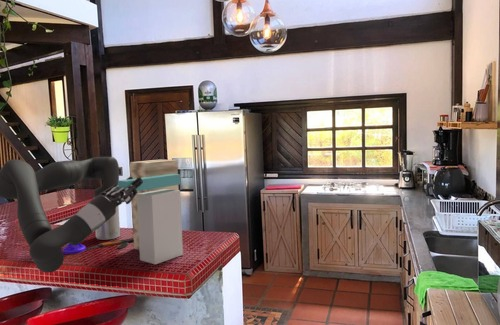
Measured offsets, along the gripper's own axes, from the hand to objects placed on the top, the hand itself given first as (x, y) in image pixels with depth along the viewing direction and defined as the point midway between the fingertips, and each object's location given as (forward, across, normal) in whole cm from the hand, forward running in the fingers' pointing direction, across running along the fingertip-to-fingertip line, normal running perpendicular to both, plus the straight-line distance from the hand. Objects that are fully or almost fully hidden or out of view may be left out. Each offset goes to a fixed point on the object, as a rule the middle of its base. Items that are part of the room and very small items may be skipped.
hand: (136, 179), depth 127 cm
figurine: (-18, +34, +22) cm, 44 cm away
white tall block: (-6, 0, +28) cm, 29 cm away
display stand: (+1, +12, +32) cm, 34 cm away
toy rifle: (-5, +25, +30) cm, 39 cm away
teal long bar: (+3, 0, +6) cm, 7 cm away
